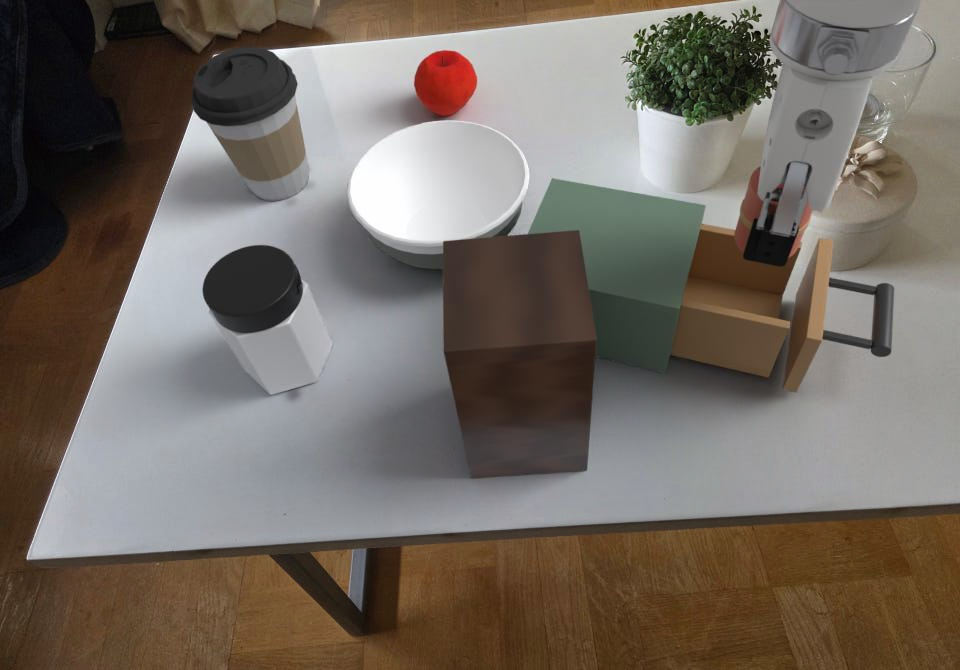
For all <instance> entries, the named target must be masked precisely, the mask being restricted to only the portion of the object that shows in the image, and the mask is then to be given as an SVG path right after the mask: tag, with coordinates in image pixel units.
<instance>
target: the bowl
mask: <svg viewBox="0 0 960 670" xmlns="http://www.w3.org/2000/svg"><path fill="white" fill-rule="evenodd" d="M529 183H530V168H529V163H528V161H527V159H526V157H525V155H524V152H523V151H522V150H521V149H520V147H518V145H517V144H516V142H514V141H513V140H512V139H511V138H510V137H508V136H507V135H505V134H504V133H502V132H501V131H499V130H496V129H494V128H492V127H490V126H487V125H484V124H480V123H478V122H471V121H466V120H465V121H464V120H447V119H445V120H433V121H427V122H422V123H418V124H414V125H410V126H406V127H404V128H402V129H398V130H396V131H394V132H392V133H390V134H389V135H386V136H384V137H383V138H381V139H380V140H378V141H377V142H376V143H374V144H373V145H371V146H370V147H369V148H368V149H367V150H366V151H365V152H364V153H363V154H362V155H361V156H360V157H359V159H358V160H357V162H356V164H355V165H354V167H353V168H352V170H351V172H350V175H349V178H348V181H347V188H346V198H347V203H348V207H349V209H350V211H351V212H352V215H353V216H354V218H355V219H356V221H358V222H359V223H360V224H361V226H362V227H363V229H364V230H365V232H366V234H367V236H368V237H369V239H370V240H371V241H372V243H373V244H374V245H375V246H376V247H377V248H378V249H380V250H381V251H383V252H384V253H386V254H387V255H389V256H390V257H391V258H392V259H395V260H396V261H398V262H400V263H403V264H406V265H408V266H412V267H416V268H421V269H433V270H435V269H436V270H443V241H451V240H463V239H475V238H487V237H499V236H509V235H510V233H511V232H512V231H513V229H514V228H515V227H516V225H517V223H518V221H519V219H520V216H521V215H522V208H523V201H524V198H525V196H526V194H527V191H528V188H529Z"/></svg>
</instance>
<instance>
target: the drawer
mask: <svg viewBox="0 0 960 670" xmlns="http://www.w3.org/2000/svg"><path fill="white" fill-rule="evenodd" d="M735 230H736V229H733V228H727V227H721V226H717V225H711V224H706V223H702V224H701V228H700V232H699V236H698V240H697V244H696V247H695V251H694V255H693V259H692V263H691V267H690V271H689V275H688V279H687V283H686V287H685V290H684V294H683V298H682V302H681V306H680V310H679V315H678V320H677V324H676V329H675V333H674V338H673V343H672V347H671V352H670V356H674V357H678V358H682V359H688V360H690V361H694V362H700V363H703V364H708V365H713V366H716V367H721V368H724V369H725V368H726V369H729V370H734V371H738V372H743V373H746V374H751V375H754V376H760V377H764V378H770V376H771V373H772V371H773V369H774V366H775V363H776V361H777V359H778V356H779V354H780V352H781V350H782V347H783V346H784V343H785V340H786V337H787V335H788V333H789V331H790V335H789V341H788V346H787V347H788V348H787V355H786V362H785V369H784V376H783V382H782V390H783V391H786V392H792V393H798V390H799V388H800V387H801V384H802V383H803V380H804V378H805V377H806V374H807V373H808V370H809V368H810V366H811V365H812V362H813V360H814V358H815V356H816V354H817V353H818V350H819V348H820V346H821V344H822V342H823V341H829V342H833V343H838V344H843V345H847V346H853V347H856V348H862V349H865V350H870V353H871V354H872V355H873V356H874V357H878V358H884V357H885V358H886V357H888V356H890V355H891V354H892V350H893V349H892V348H893V329H894V327H893V326H894V309H895V307H894V306H895V287H894V286H893V284H890V283H888V282H881V283H877V285H876V286H875V285H870V284H864V283H860V282H854V281H848V280H845V279H844V280H843V279H838V278H833V277H830V275H831V267H832V258H833V248H834V239H829V238H828V239H827V238H823V237H819V238H818V240H817V243H816V245H815V247H814V250H813V252H812V254H811V257H810V259H809V262H808V264H807V266H806V269H805V272H804V274H803V276H802V279H801V281H800V284H799V286H798V289H797V291H796V294H795V298H794V299H795V300H794V307H793V313H792V320H791V321H792V322H791V321H790V320H785V319H780V315H781V310H782V304H783V297H784V293H785V291H786V288H787V286H788V283H789V280H790V278H791V275H792V273H793V270H794V268H795V265H796V262H797V260H798V257H799V255H800V252H801V250H802V246H803V242H802V241H801V242H800V244H799V247H798V249H797V251H796V252H795V253H794V254H793V255H792V256H791V257H789V258H788V260H787V263H786V265H785V266H782V267H779V266H774V265H769V264H764V263H759V262H754V261H749V260H745V259H744V258H743V254H744V253H743V252H742V251H741V250H740V249H739V248H738V246H737V245H736V242H735V239H734V234H735ZM829 288H833V289H839V290H844V291H849V292H854V293H859V294H865V295H868V296H869V295H870V296H873V308H872V322H871V323H872V324H871V337H870V339H868V338H864V337H859V336H854V335H850V334H845V333H839V332H836V331H831V330H827V329H824V327H825V319H826V310H827V301H828V293H829Z"/></svg>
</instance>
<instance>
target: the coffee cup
mask: <svg viewBox="0 0 960 670" xmlns="http://www.w3.org/2000/svg"><path fill="white" fill-rule="evenodd" d="M192 82H193V85H192V89H191V90H190V100H191V105H192V108H193V112H194V113H195V114H196V116H197V117H198V118H199V119H200V120H202V121H204V122H206V124H207V125H208V127H209V128H210V130H211V132H212V133H213V135H214V137H215V138H216V139H217V141H218V142H219V144H220V145H221V147H222V149H223V150H224V152H225V154H226V156H227V157H228V158H229V159H230V162H231V163H232V164H233V166H234V167H235V169H236V170H237V172H238V173H239V175H240V176H241V178H242V180H243V181H244V183H245V185H246V186H247V187H248V189H249V190H250V191H251V192H252V193H253V194H254V195H255V197H257V198H259V199H261V200H264V201H269V202H276V201H277V202H278V201H283V200H287V199H291V198H293V197H294V196H295V195H298V194H299V193H300V192H301V191H302V190H304V188H305V187H306V186H307V184H308V182H309V178H310V173H309V172H310V167H309V162H308V155H307V151H306V146H305V140H304V135H303V129H302V125H301V124H302V123H301V119H300V114H299V108H298V104H297V99H296V98H297V97H296V92H297V88H298V85H299V83H298V80H297V77H296V74H295V73H293V69H292V67H291V66H290V65H289V64H288V63H287V62H286V61H284V59H281V58H280V57H278V56H277V54H275V52H274V51H271V50H268V49H266V48H263V47H256V46H244V47H237V48H232V49H229V50H225V51H223V52H220V53H217V54H216V55H214V56H211V58H209V59H208V60H206V61H205V62H204V63H203V64H202V65H200V67H199V68H198V69H197V70H196V72H195V74H194V77H193V79H192Z"/></svg>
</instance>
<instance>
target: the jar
mask: <svg viewBox="0 0 960 670" xmlns="http://www.w3.org/2000/svg"><path fill="white" fill-rule="evenodd" d="M201 291H202V296H203V297H202V298H203V300H204V302H205V304H206V305H207V308H208V309H209V311H208V314H209V316H210V317H211V319H212V320H213V323H214V324H215V325H216V327H217V329H218V330H219V332H220V333H221V335H222V337H223V338H224V340H225V342H226V343H227V345H228V347H229V348H230V351H232V353H233V355H234V356H235V358H236V360H237V361H238V363H239V364H240V366H241V368H242V369H243V371H244V372H246V374H247V375H249V376H250V378H252V379H253V380H254V381H255V382H256V383H257V384H258V385H259V386H261V387H262V388H263V390H264V391H265V392H266V393H268V394H269V395H271V396H273V395H276V394H277V395H278V394H280V393H283V392H286V391H290V390H293V389H297V388H301V387H303V386H307V385H311V384H315V383H317V382H318V381H319V378H320V376H321V374H322V372H323V369H324V367H325V365H326V362H327V360H328V358H329V355H330V353H331V350H332V349H333V345H334V343H333V341H332V338H331V336H330V332H329V331H328V329H327V326H326V324H325V321H324V319H323V317H322V314H321V311H320V310H319V307H318V304H317V303H316V300H315V298H314V295H313V293H312V290H311V288H310V285H309V283H307V282H306V281H305V280H303V279H302V276H301V274H300V271H299V269H298V267H297V265H296V263H295V262H294V260H293V258H292V257H291V256H290V255H289V253H287V251H284V250H283V249H281V248H278V247H276V246H273V245H267V244H254V245H249V246H248V245H247V246H244V247H241V248H238V249H235V250H232V251H231V252H229V253H227V254H225V255H224V256H222V257H221V258H220V259H218V260H217V261H215V263H214V264H213V265H212V266H211V268H210V269H209V270H208V272H207V273H206V275H205V277H204V280H203V282H202V289H201Z"/></svg>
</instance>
